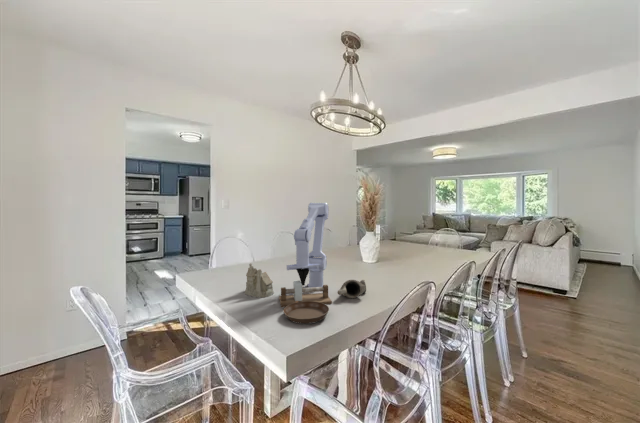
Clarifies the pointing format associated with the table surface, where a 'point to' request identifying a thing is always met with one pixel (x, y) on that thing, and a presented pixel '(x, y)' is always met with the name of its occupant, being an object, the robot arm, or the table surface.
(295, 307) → the plant saucer
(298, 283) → the collar
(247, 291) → the ceramic cottage
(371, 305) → the table surface
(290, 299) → the rod stand
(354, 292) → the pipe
